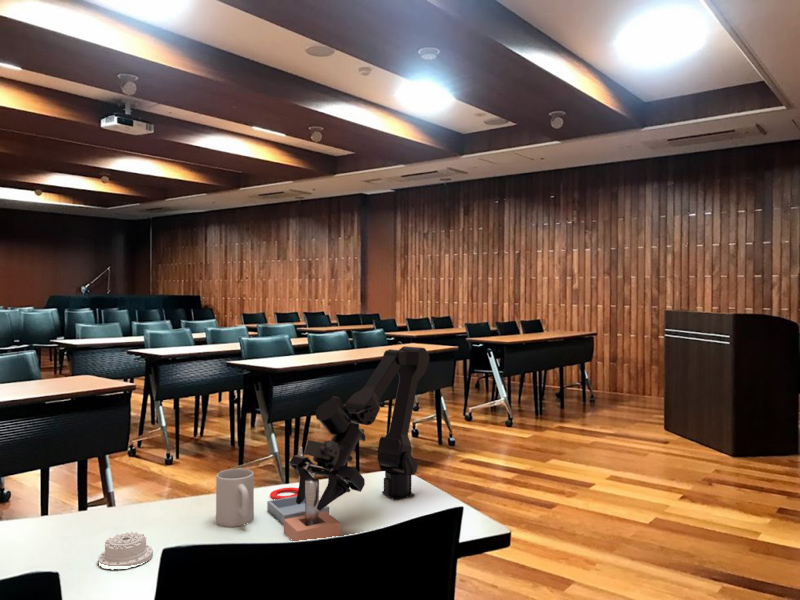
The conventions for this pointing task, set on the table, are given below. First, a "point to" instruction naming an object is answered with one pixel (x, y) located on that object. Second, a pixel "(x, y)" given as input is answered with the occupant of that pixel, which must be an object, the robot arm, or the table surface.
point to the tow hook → (275, 492)
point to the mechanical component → (126, 550)
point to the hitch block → (311, 527)
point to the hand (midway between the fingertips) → (307, 506)
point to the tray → (288, 508)
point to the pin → (311, 501)
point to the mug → (234, 497)
